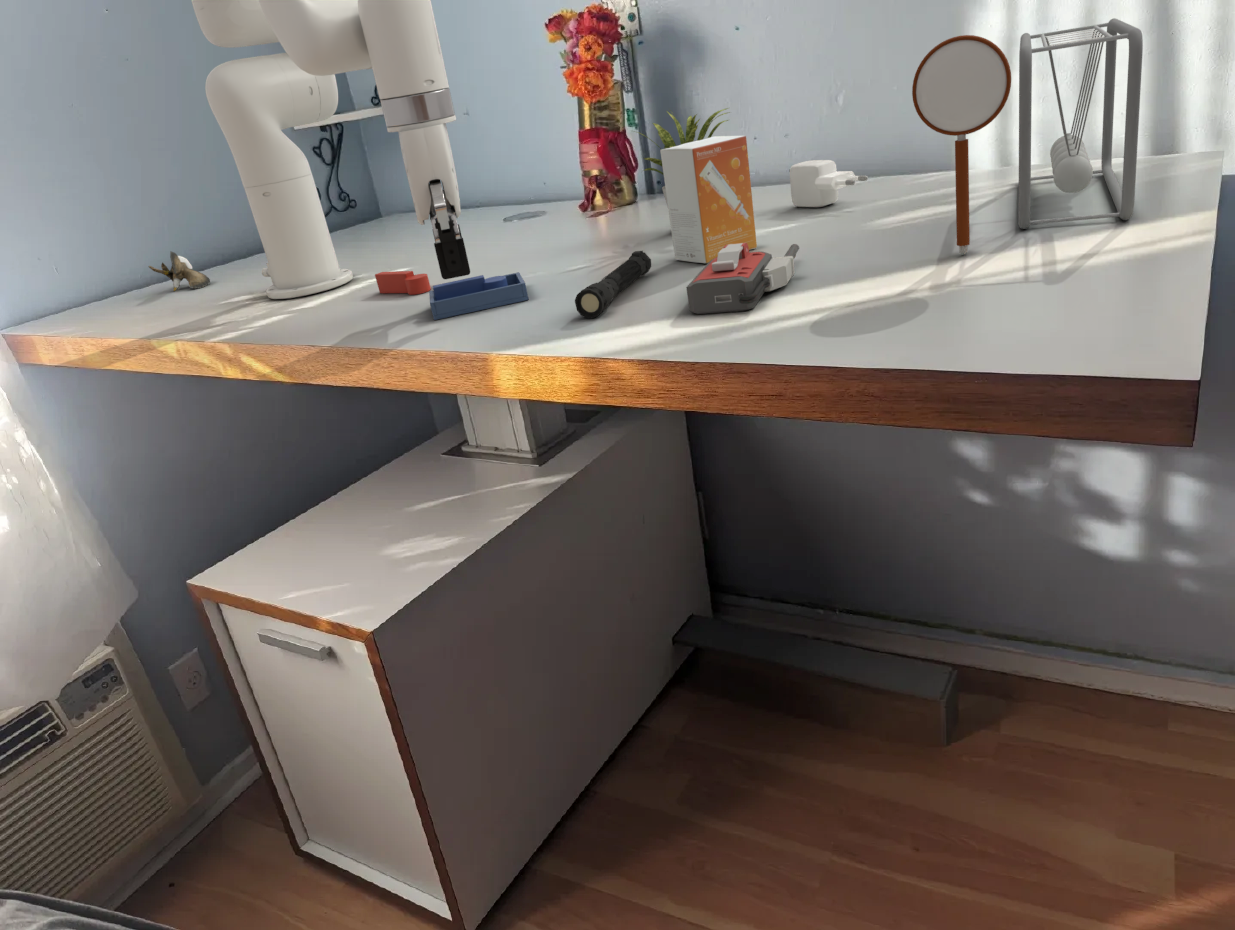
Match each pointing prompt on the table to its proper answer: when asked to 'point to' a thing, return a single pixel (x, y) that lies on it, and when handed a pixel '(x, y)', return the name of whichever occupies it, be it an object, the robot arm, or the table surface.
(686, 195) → the small box
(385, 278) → the red block with cylinder
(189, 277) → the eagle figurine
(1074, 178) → the newton's cradle
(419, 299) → the table surface
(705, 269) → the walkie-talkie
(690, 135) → the house plant
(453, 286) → the blue block with cylinder
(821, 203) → the power adapter
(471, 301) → the blue tray
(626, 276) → the flashlight
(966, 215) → the magnifying glass
